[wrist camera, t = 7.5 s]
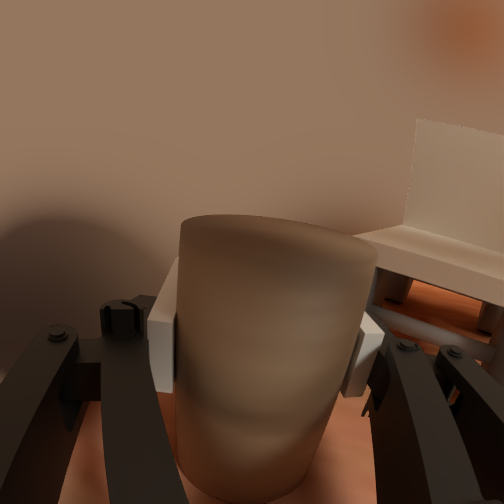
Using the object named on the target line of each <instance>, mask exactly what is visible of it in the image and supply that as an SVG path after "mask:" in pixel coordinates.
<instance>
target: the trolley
mask: <svg viewBox="0 0 504 504" xmlns="http://www.w3.org/2000/svg"><path fill="white" fill-rule="evenodd" d="M353 237H356V238H358V239H360V240H363V241H365V242H367V243H368V244H370V245H371V246H373V247H374V248H375V249H376V250H377V252H378V258H377V263H376V267H375V272H374V276H373V280H372V284H371V288H370V292H369V296H368V300H367V304H366V307H365V311H368V312H370V313H372V314H374V315H375V316H377V317H378V318H379V319H380V320H381V322H382V323H383V324H384V325H385V326H386V328H389V329H392V330H395V331H397V332H400V333H403V334H406V335H408V336H411V337H414V338H417V339H419V340H422V341H425V342H428V343H430V344H433V345H436V346H439V347H441V346H442V345H456V346H459V348H461V349H463V350H464V351H466V352H467V353H468V354H469V355H470V356H471V357H472V358H473V359H476V360H479V361H482V363H481V367H482V368H483V369H484V370H485V371H486V372H487V373H488V374H489V375H490V376H491V377H492V378H493V379H494V380H495V381H496V382H497V383H498V384H499V385H500V386H501V387H502V388H503V389H504V136H502V135H498V134H494V133H490V132H486V131H481V130H476V129H472V128H467V127H463V126H457V125H452V124H447V123H441V122H435V121H429V120H423V119H417V120H416V132H415V142H414V152H413V160H412V168H411V175H410V182H409V189H408V195H407V201H406V207H405V213H404V218H403V223H402V225H400V226H395V227H391V228H386V229H381V230H377V231H372V232H368V233H363V234H358V235H353ZM413 279H414V280H417V281H420V282H423V283H426V284H429V285H433V286H436V287H439V288H442V289H445V290H448V291H451V292H454V293H457V294H460V295H464V296H467V297H470V298H473V299H476V300H479V301H482V302H483V303H482V306H481V310H480V314H479V318H478V323H477V329H480V330H483V331H486V332H489V333H492V336H491V339H490V341H489V344H487V343H484V342H481V341H478V340H475V339H472V338H469V337H466V336H463V335H460V334H457V333H455V332H452V331H449V330H446V329H443V328H440V327H437V326H434V325H431V324H429V323H426V322H423V321H420V320H417V319H414V318H411V317H408V316H405V315H403V314H400V313H397V312H394V311H391V310H388V309H385V308H383V307H382V305H383V302H384V298H388V299H391V300H394V301H397V302H400V303H403V302H404V301H405V299H406V297H407V295H408V293H409V290H410V288H411V285H412V282H413Z"/></svg>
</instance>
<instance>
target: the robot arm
mask: <svg viewBox="0 0 504 504" xmlns="http://www.w3.org/2000/svg"><path fill="white" fill-rule="evenodd" d="M178 260H179V256H176V258H175V261H174V263H173V265H172V267H171V269H170V271H169V273H168V276H167V277H166V279H165V282H164V284H163V286H162V288H161V290H160V292H159V295H158V297H153V296H145V295H139V296H137V297H136V298H134V299H132V301H130V300H113V301H109V302H106V303H105V304H104V305H102V306H101V308H100V318H101V329H102V337H101V338H97V339H78V334H77V332H76V330H75V329H73V328H72V327H70V326H66V325H59V324H56V325H51V326H48V327H46V328H44V329H42V330H41V331H40V332H39V333H38V334H37V336H36V337H35V338H34V339H33V341H32V342H31V343H30V345H29V346H28V347H27V348H26V350H25V351H24V352H23V354H22V355H21V356H20V358H19V359H18V360H17V362H16V363H15V364H14V366H13V367H12V368H11V370H10V371H9V373H8V374H7V375H6V377H5V378H4V380H3V381H2V382H1V384H0V504H58V501H59V497H60V493H61V489H62V486H63V482H64V479H65V475H66V472H67V468H68V465H69V462H70V458H71V455H72V452H73V449H74V446H75V443H76V439H77V436H78V433H79V430H80V427H81V425H82V422H83V419H84V416H85V413H86V410H87V408H88V405H89V401H101V414H102V433H103V447H104V458H105V468H106V477H107V485H108V492H109V499H110V504H189V502H188V499H187V496H186V493H185V490H184V488H183V485H182V482H181V479H180V476H179V473H178V469H177V466H176V463H175V460H174V457H173V453H172V450H171V446H170V443H169V440H168V436H167V432H166V429H165V425H164V421H163V417H162V414H161V410H160V406H159V402H158V397H157V393H156V391H158V392H165V393H173V387H174V382H175V342H176V300H177V278H178ZM367 384H368V386H369V387H370V389H371V393H370V395H369V397H368V400H367V402H366V404H365V407H364V409H363V411H362V415H361V416H362V417H364V415H365V413H366V412H367V411H368V410H369V415H368V417H370V424H371V433H372V443H373V453H374V465H375V477H376V493H377V504H504V389H503V388H502V387H501V386H500V385H499V384H498V383H497V382H496V381H495V380H494V379H493V378H492V377H491V376H490V375H489V374H488V373H487V372H486V371H485V370H484V369H483V368H482V367H481V366H480V365H479V364H478V363H477V362H476V361H475V360H474V359H473V358H472V357H471V356H470V355H469V354H468V353H467V352H466V351H464V350H463V349H461V348H459V346H456V345H442V346H441V347H440V349H439V352H438V354H437V356H435V355H427V354H424V352H423V350H422V348H421V347H420V346H419V345H418V344H417V343H415V342H413V341H411V340H408V339H403V338H396V337H395V335H394V334H393V333H392V332H391V331H390V330H389V329H388V328H386V326H385V325H384V324H383V323H382V322H381V320H380V319H379V318H378V317H377V316H375V315H374V314H372V313H370V312H368V311H364V315H363V318H362V322H361V325H360V329H359V332H358V336H357V339H356V342H355V346H354V349H353V352H352V355H351V358H350V362H349V365H348V368H347V371H346V374H345V377H344V380H343V382H342V385H341V388H340V391H341V393H342V395H343V397H344V398H347V397H360V396H362V395H363V393H364V390H365V388H366V385H367ZM456 388H457V389H458V390H459V391H460V394H459V396H458V398H457V399H456V401H455V403H454V404H453V405H452V404H451V403H450V401H449V400H450V398H451V396H452V394H453V392H454V391H455V389H456Z"/></svg>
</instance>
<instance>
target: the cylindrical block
mask: <svg viewBox="0 0 504 504" xmlns="http://www.w3.org/2000/svg"><path fill="white" fill-rule="evenodd" d="M377 258H378V252H377V250H376V249H375V248H374V247H373V246H371V245H370V244H368V243H367V242H365V241H363V240H360V239H358V238H356V237H353V236H351V235H348V234H345V233H342V232H339V231H336V230H332V229H328V228H325V227H320V226H316V225H312V224H307V223H302V222H296V221H291V220H285V219H277V218H270V217H261V216H250V215H205V216H198V217H193V218H189V219H187V220H185V221H183V222H182V224H181V231H180V245H179V260H178V278H177V300H176V342H175V412H176V442H177V457H178V461H179V464H180V467H181V469H182V471H183V472H184V474H185V475H186V477H187V478H188V479H189V480H190V481H191V482H192V483H193V484H194V485H195V486H196V487H197V488H199V489H200V490H201V491H203V492H205V493H207V494H208V495H210V496H212V497H215V498H217V499H220V500H223V501H227V502H231V503H237V504H259V503H265V502H269V501H273V500H276V499H278V498H280V497H283V496H285V495H286V494H288V493H289V492H291V491H292V490H293V489H295V488H296V487H297V486H298V485H299V484H300V482H301V481H302V480H303V478H304V476H305V475H306V472H307V470H308V468H309V466H310V464H311V461H312V459H313V457H314V454H315V452H316V450H317V447H318V445H319V443H320V440H321V438H322V435H323V433H324V431H325V428H326V426H327V423H328V420H329V418H330V415H331V413H332V410H333V407H334V405H335V402H336V399H337V397H338V394H339V391H340V388H341V385H342V382H343V380H344V377H345V374H346V371H347V368H348V365H349V362H350V358H351V355H352V352H353V349H354V346H355V342H356V339H357V336H358V332H359V329H360V325H361V322H362V318H363V315H364V311H365V307H366V304H367V300H368V296H369V292H370V288H371V284H372V280H373V276H374V272H375V267H376V263H377Z"/></svg>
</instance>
